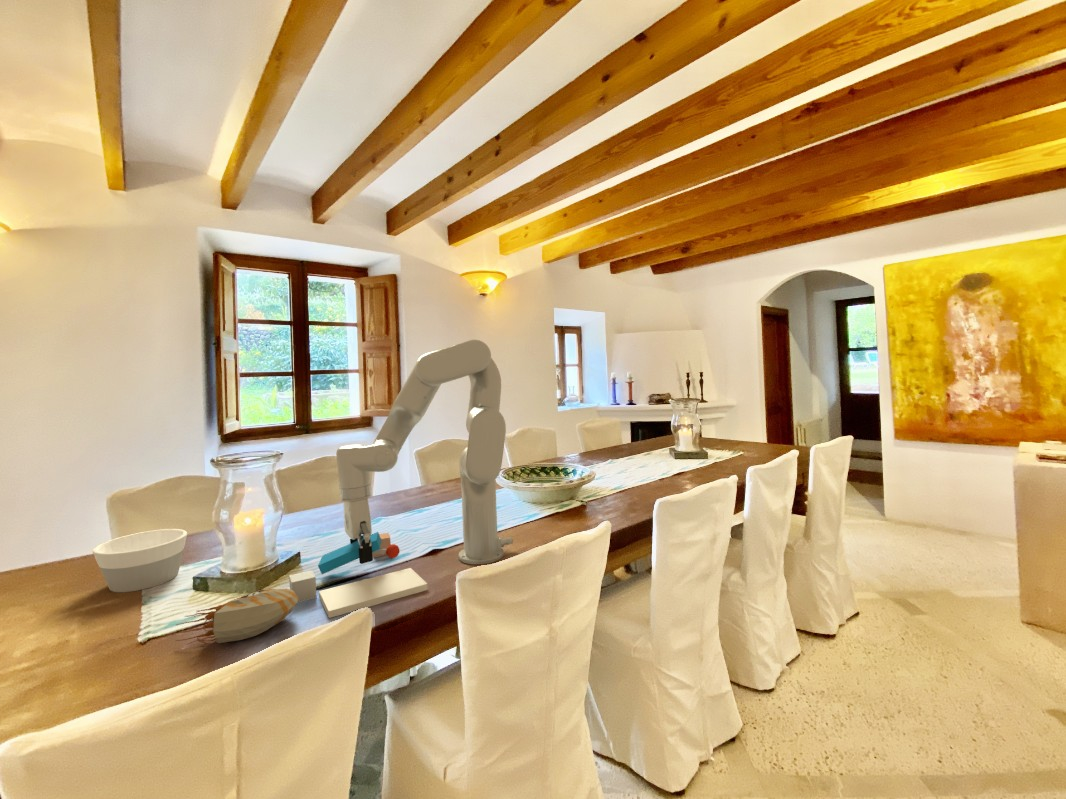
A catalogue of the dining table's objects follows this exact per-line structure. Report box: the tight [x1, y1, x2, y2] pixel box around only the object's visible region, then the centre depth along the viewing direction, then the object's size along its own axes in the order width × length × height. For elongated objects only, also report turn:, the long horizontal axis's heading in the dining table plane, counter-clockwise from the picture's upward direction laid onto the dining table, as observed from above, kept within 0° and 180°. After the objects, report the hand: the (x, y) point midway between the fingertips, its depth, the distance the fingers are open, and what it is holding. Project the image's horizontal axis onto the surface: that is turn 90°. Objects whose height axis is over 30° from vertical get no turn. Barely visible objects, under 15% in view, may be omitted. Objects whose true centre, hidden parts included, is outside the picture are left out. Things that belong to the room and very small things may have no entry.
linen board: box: [318, 567, 428, 619], centre depth 113 cm, size 22×12×2 cm, turn 123°
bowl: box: [91, 528, 188, 593], centre depth 125 cm, size 19×19×11 cm
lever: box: [317, 531, 401, 575], centre depth 125 cm, size 7×7×19 cm
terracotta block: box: [372, 532, 392, 558], centre depth 139 cm, size 5×5×5 cm
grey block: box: [288, 569, 317, 603], centre depth 112 cm, size 5×5×5 cm
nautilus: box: [175, 588, 299, 647], centre depth 97 cm, size 8×22×15 cm
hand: (361, 556), depth 125 cm, fingers closed on lever, 8 cm apart
